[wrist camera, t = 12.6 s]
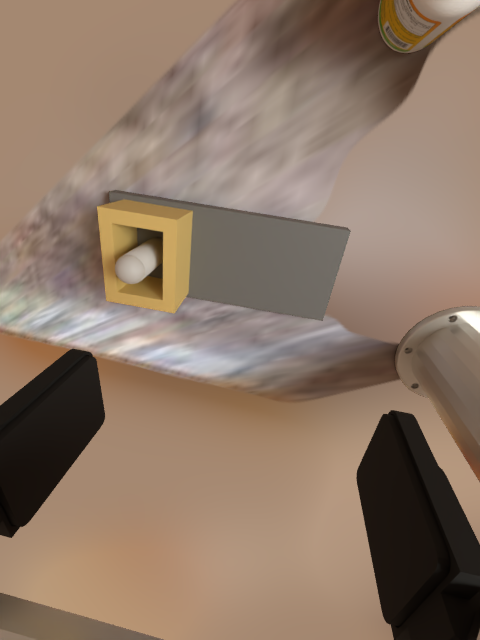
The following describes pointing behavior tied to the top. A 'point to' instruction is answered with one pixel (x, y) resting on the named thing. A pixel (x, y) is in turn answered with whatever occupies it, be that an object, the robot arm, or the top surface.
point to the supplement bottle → (419, 21)
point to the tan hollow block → (122, 237)
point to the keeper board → (245, 258)
